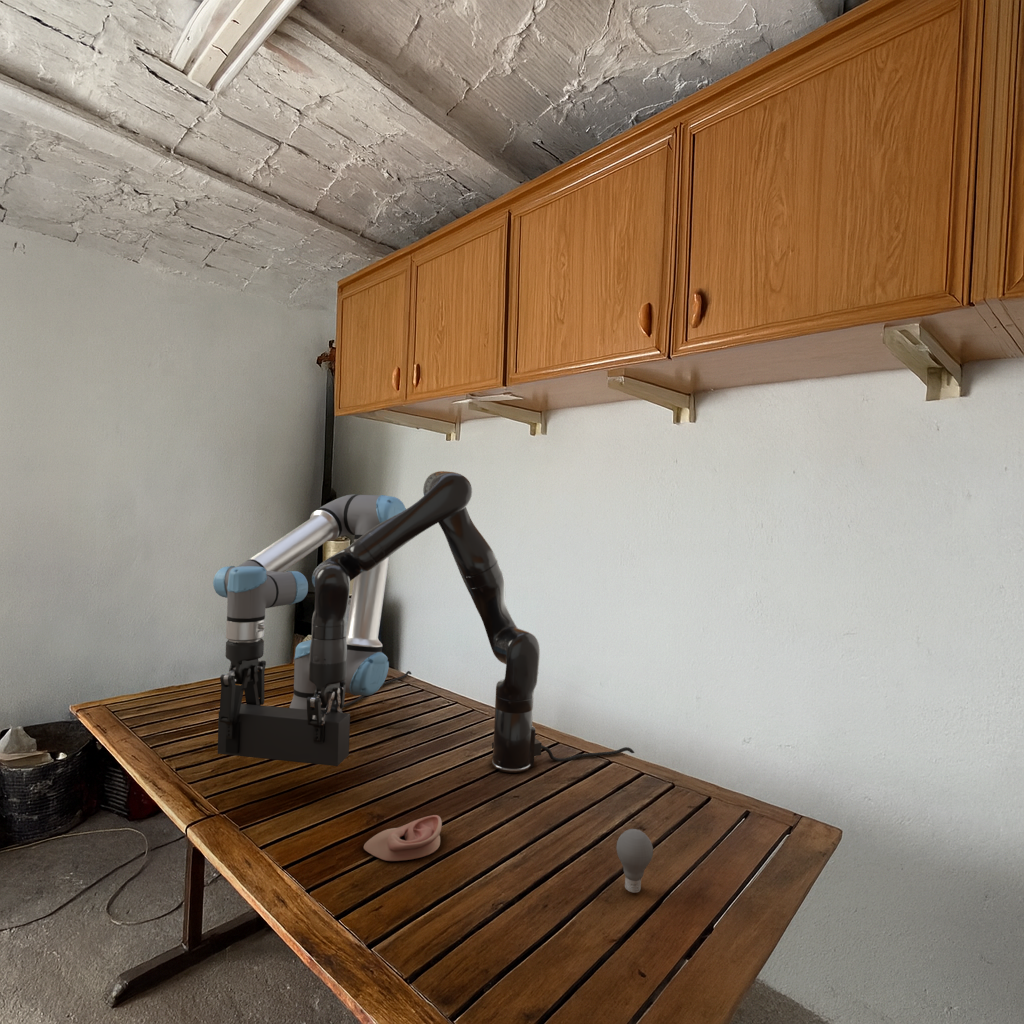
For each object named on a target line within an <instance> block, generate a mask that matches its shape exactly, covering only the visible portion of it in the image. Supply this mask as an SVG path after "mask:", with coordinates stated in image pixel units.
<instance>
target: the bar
mask: <svg viewBox="0 0 1024 1024" xmlns="http://www.w3.org/2000/svg"><path fill="white" fill-rule="evenodd" d="M219 712H220V710H219V711H218V713H219ZM217 718H218V723H217V724H218V725H217V754H218V755H226V756H237V757H245V758H256V759H264V760H275V761H282V762H283V761H284V762H294V763H303V764H312V765H323V766H332V767H338V766H340V764H342V762H344V760H345V759H346V758H347V757H348V756H349V755H350V734H351V733H350V732H351V731H350V730H351V727H350V726H351V713H349V712H348V713H347V712H343V713H339V712H330V713H329V714H328V715H327V717H326V722H325V742H324V743H323V744H315V743H314V742H313V730H314V726H313V725H308V720H307V710H306V709H295V708H289V707H283V706H271V705H251V704H246V703H241V707H240V712H239V718H238V721H239V722H240V750H239V753H238V754H235V753H226V752H225V751H226V723H223V722H219V716H218V717H217ZM312 719H313V715H312ZM321 719H322V714H321Z"/></svg>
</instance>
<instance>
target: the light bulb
mask: <svg viewBox="0 0 1024 1024" xmlns="http://www.w3.org/2000/svg"><path fill="white" fill-rule="evenodd" d="M615 849H616V854H617V857H618V859H619V861H620V863H621V865H622V867H623V873H624V874H623V875H624V876H625V878H624V888H625V890H627V891H628V892H630V893H634V894H635V893H639V892H640V891H641V889H642V887H641V886H642V879H643V877H644V875H645V871H646V868H647V867H648V866H649V864H650V863H651V861H652V859H653V855H654V847H653V843H652V841H651V838H649V836H648V835H647V834H646V833H645V832H643V831H642V830H641V829H636V828H629V829H627V830H625V831H623V832H622V833H621V834H620V835H619V837H618V839H617V841H616V847H615Z"/></svg>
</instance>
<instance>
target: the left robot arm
mask: <svg viewBox="0 0 1024 1024" xmlns="http://www.w3.org/2000/svg"><path fill="white" fill-rule="evenodd" d="M406 509H407V508H406V506H405V504H404V502H403V501H402V500H401V499H400V498H398V497H396V496H392V495H384V494H357V493H356V494H354V493H352V494H346V495H343V496H340V497H338V498H336V499H334V500H333V499H332V500H331V501H329V502H327V503H326V504H324V505H321V507H319V508H317V509H316V510H314V511H313V512H311V514H310V517H309V519H307V520H306V521H305V522H303V523H301V524H300V525H298V526H297V527H295V528H294V529H292V530H291V531H289V532H287V534H284V535H283V536H282V537H280V538H278V539H277V540H276V541H274V542H273V543H271V544H270V545H268V546H267V547H265V548H264V549H262V550H260V551H259V552H257V553H255V555H253V556H251V557H249V559H247V560H245V561H244V562H242V563H241V564H239V565H237V566H235V565H230V566H227V565H226V566H223V567H221V568H219V569H218V570H217V572H216V573H215V575H214V577H213V582H212V584H213V589H214V592H215V593H216V594H217V595H218V596H219V597H221V598H226V604H227V605H226V627H225V628H226V629H225V638H226V639H227V641H225V658H226V659H227V660H229V661H230V666H229V668H228V672H227V673H226V674H221V675H220V677H219V678H220V679H219V680H220V699H219V711H220V712H219V711H218V717H219V722H223V723H226V751H225V752H226V753H235V754H238V753H239V750H240V722H239V721H238V718H239V712H240V707H241V704H242V701H243V698H245V704H251V705H262V706H264V704H265V674H266V673H265V672H266V666H267V662H266V660H260V659H262V657H263V656H264V653H265V651H264V650H265V640H264V639H263V637H264V636H265V629H266V625H265V619H266V609H270V608H276V607H281V606H292V605H294V604H297V603H300V602H302V601H303V600H305V598H306V596H307V595H308V592H309V583H308V580H307V577H306V576H305V575H304V574H303V573H301V572H300V571H297V570H288V569H290V568H292V567H293V566H294V565H296V564H297V563H298V562H300V561H301V560H303V559H305V557H307V556H308V555H309V554H311V553H312V552H314V551H315V550H316V549H318V548H319V547H321V546H323V544H325V543H326V542H334V541H335V540H337V539H338V538H339V537H344V536H354V538H353V542H354V541H356V540H357V539H358V538H360V537H361V536H362V535H364V534H365V533H367V532H368V531H369V530H371V529H372V528H374V527H375V526H377V525H378V524H380V523H382V522H384V521H385V520H387V519H389V518H391V517H393V516H395V515H397V514H399V513H401V512H403V511H404V510H406ZM389 562H390V556H389V557H388V558H386V559H385V560H384V561H382V562H381V563H380V564H378V565H377V566H376V567H374V568H373V569H371V570H369V571H367V572H363V573H361V574H359V575H358V576H357V577H355V578H354V579H353V583H352V590H351V597H350V604H349V609H348V610H349V612H348V617H347V618H348V619H347V627H346V641H347V667H346V679H345V680H344V681H346V688H345V694H346V693H347V694H351V695H353V696H359V697H357V698H356V699H353V700H351V701H349V702H347V703H344V707H343V708H346V707H349V706H351V705H353V704H355V703H357V702H359V701H360V700H362V699H364V697H369V696H372V695H374V694H376V693H377V692H378V691H379V690H380V689H381V687H383V686H385V685H388V684H391V683H393V682H396V681H400V680H402V679H404V678H406V677H408V675H412V672H411V671H410V670H407V671H406V672H405V674H402V675H401V676H398V677H395V678H392V679H389V680H386V679H387V677H388V673H389V668H390V661H389V660H388V659H389V658H388V656H387V655H386V654H385V653H384V652H383V643H382V642H381V641H380V640H379V633H380V626H381V619H382V612H383V605H384V599H385V598H384V597H385V591H386V583H387V575H388V569H389ZM310 644H311V640H308V641H304V642H303V641H302V642H299V643H298V644H297V645H296V647H295V652H294V653H295V654H294V657H293V662H294V663H293V665H294V666H293V695H292V696H293V697H292V699H291V702H290V704H289V707H288V708H295V709H306V710H307V698H308V697H313V696H314V692H315V687H316V685H315V684H314V683H312V682H311V681H310V680H309V661H310ZM243 696H244V697H243ZM325 709H326V708H321V710H325ZM340 713H344V712H343V709H340Z"/></svg>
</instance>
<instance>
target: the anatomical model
mask: <svg viewBox="0 0 1024 1024" xmlns="http://www.w3.org/2000/svg"><path fill="white" fill-rule="evenodd" d="M442 826H443V822H442V818H441V816H440V815H437V814H433V815H428V816H424V817H421V818H417V819H414V820H412V821H410V822H408V823H406V824H404V825H401V826H398V827H392V828H388V829H384V830H382V831H380V832H378V833H377V834H375V835H373V836H372V837H370V838H369V839H368V840H367V841H366V842H365V843H364V845H363V850H364V851H365V852H367V853H368V854H370V855H371V856H373V857H375V858H377V859H380V860H382V861H385V862H386V861H387V862H400V861H408V860H409V861H410V860H414V859H415V860H416V859H420V858H423V857H426V856H429V855H431V854H433V853H435V852H436V851H437V850H438V849H439V847H440V845H441V835H440V834H441V831H442Z"/></svg>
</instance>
